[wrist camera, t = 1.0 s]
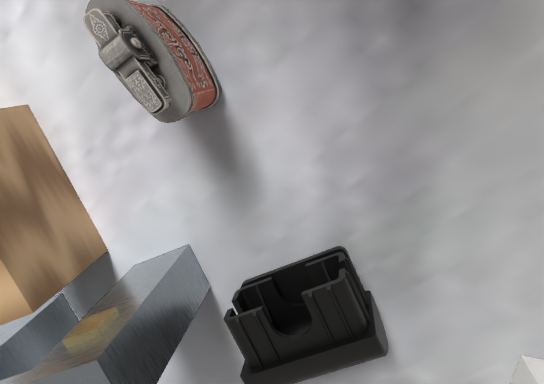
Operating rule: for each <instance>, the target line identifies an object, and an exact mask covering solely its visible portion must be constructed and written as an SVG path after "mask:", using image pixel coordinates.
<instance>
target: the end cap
mask: <svg viewBox="0 0 544 384" xmlns="http://www.w3.org/2000/svg"><path fill="white" fill-rule="evenodd" d="M232 303H233V305H234V307H235V309H236V311H237V312H238V315H236V313H235V312H234V310H233V308H231V309H228V310H227V313H226V315H225V317H224V321H225V323H226V324H227V326H228V328H229V330H230V332H231V334H232V336H233V338H234V340H235V341H236V343H237V345H238V347H239V349H240V351H241V353H242V355H243V357H244V358H245V362H244V365H243V368H242V371H241V375H240V377H241V379H242V380H243V382H244V384H294V383H297V382H301V381H304V380H307V379H310V378H314V377H317V376H320V375H324V374H327V373H330V372H333V371H337V370H340V369H343V368H347V367H350V366H353V365H356V364H360V363H363V362H366V361H370V360H373V359H376V358H380V357H383V356H385V355H387V353H388V343H387V338H386V334H385V331H384V327H383V324H382V321H381V318H380V315H379V312H378V309H377V307H376V304H375V302H374V299H373V297H372V295H371V292H370V291H364V288H363V286H362V284H361V282H360V279H359V277H358V275H357V273H356V270H355V268H354V266H353V264H352V262H351V259H350V257H349V255H348V253H347V251H346V249H345V248H344V247H341V246H338V247H335V248H332V249H329V250H326V251H324V252H321V253H318V254H316V255H313V256H310V257H308V258H305V259H302V260H299V261H297V262H294V263H291V264H289V265H286V266H283V267H281V268H278V269H275V270H273V271H270V272H267V273H264V274H262V275H259V276H256V277H254V278H251V279H248V280H246V281H244V282H243V284H242V286H241V288H240V289H239V290H237V291H236V292H235V294H234V297H233V299H232Z"/></svg>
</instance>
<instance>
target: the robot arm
mask: <svg viewBox="0 0 544 384" xmlns="http://www.w3.org/2000/svg"><path fill="white" fill-rule="evenodd" d="M510 384H544V360H541V359H537V358H532V357H527V356H522V355H521V356H520V359H519V361H518V364H517V366H516V369H515V372H514V374H513V377H512V379H511V382H510Z"/></svg>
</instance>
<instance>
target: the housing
mask: <svg viewBox="0 0 544 384" xmlns="http://www.w3.org/2000/svg"><path fill="white" fill-rule="evenodd" d="M209 288H210V285H209V283H208V281H207V279H206V277H205V275H204V273H203V271H202V269H201V267H200V265H199V263H198V261H197V259H196V257H195V255H194V253H193V251H192V249H191V248H190V246H189V244H188V245H186V246H183V247H181V248H178V249H176V250H173V251H170V252H168V253H165V254H163V255H160V256H157V257H155V258H152V259H150V260H147V261H145V262H142V263H139V264H137V265H134V266H133V267H132V268H131V269H130V270H129V271H128V272H127V273H126V274H125V275H124V276H123V277H122V279H121V280H120V281H119V282H118V283H117V284H116V285H115V286H114V287H113V288H112V289H111V290H110V291H109V292H108V293H107V294H106V295H105V296H104V297H103V298H102V299H101V300H100V301H99V302H98V303H97V304H96V305H95V306H94V307H93V308H92V309H91V310H90V311H89V312H88V313H87V314H86V315H85V316H84V317H83V318H82V319H81V320H80V321H79V322H78V320H77V318H76V317H75V315H74V313H73V311H72V310H71V308H70V306H69V305H68V303H67V301H66V300H65V298H64V296H63V294H59V295H57V296H54V297H52V298H51V299H49V300H48V301H47V302H46V303H45V304H43V305H42V306H41V307H40V308H39V309H37V310H36V311H35V312H34V313H32V314H29V315H27V316H24V317H22V318H19V319H16V320H14V321H11V322H8V323H6V324H3V325H1V326H0V384H157V382H158V380H159V378H160V377H161V375H162V373H163V371H164V369H165V368H166V366H167V364H168V362H169V360H170V359H171V357H172V355H173V353H174V351H175V350H176V348H177V346H178V344H179V342H180V341H181V339H182V337H183V335H184V333H185V332H186V330H187V328H188V326H189V324H190V323H191V321H192V319H193V317H194V315H195V314H196V312H197V310H198V308H199V306H200V305H201V303H202V301H203V299H204V297H205V296H206V294H207V292H208V290H209Z"/></svg>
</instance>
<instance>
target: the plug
mask: <svg viewBox="0 0 544 384" xmlns="http://www.w3.org/2000/svg"><path fill="white" fill-rule="evenodd" d="M107 251H108V249H107V247H106V246H105V244H104V242H103V240H102V238H101V236H100V235H99V233H98V231H97V229H96V227H95V226H94V224H93V222H92V220H91V218H90V217H89V215H88V213H87V211H86V209H85V207H84V206H83V204H82V202H81V200H80V198H79V197H78V195H77V193H76V191H75V189H74V187H73V186H72V184H71V182H70V180H69V178H68V177H67V175H66V173H65V171H64V169H63V167H62V166H61V164H60V162H59V160H58V158H57V157H56V155H55V153H54V151H53V149H52V148H51V146H50V144H49V142H48V140H47V138H46V137H45V135H44V133H43V131H42V129H41V128H40V126H39V124H38V122H37V120H36V118H35V117H34V115H33V113H32V111H31V109H30V108H29V106H28V105H21V106H15V107H8V108H2V109H0V326H1V325H3V324H6V323H8V322H11V321H14V320H16V319H19V318H22V317H24V316H27V315H29V314H32V313H34V312H35V311H36V310H37V309H39V308H40V307H41V306H42V305H43V304H45V303H46V302H47V301H48V300H49V299H51V298H52V297H53V296H54V295H55V294H57V293H58V292H59V291H60V290H61V289H63V288H64V287H65V286H66V285H67V284H69V283H70V282H71V281H72V280H73V279H74V278H76V277H77V276H78V275H79V274H80V273H82V272H83V271H84V270H85V269H86V268H88V267H89V266H90V265H91V264H92V263H94V262H95V261H96V260H97V259H98V258H100V257H101V256H102V255H103V254H104V253H106V252H107Z"/></svg>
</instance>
